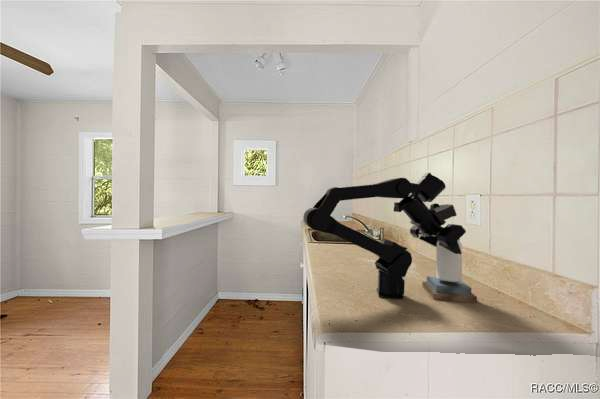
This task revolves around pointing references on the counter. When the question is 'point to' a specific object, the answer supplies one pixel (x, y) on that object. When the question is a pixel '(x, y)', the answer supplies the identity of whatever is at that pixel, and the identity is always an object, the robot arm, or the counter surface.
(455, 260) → the can
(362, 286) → the counter surface
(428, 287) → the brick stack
